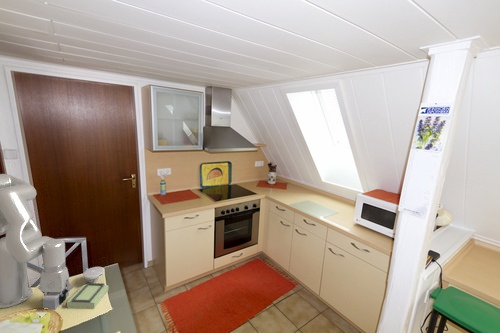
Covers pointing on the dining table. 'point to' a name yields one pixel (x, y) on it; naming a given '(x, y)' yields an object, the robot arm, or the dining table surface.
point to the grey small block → (52, 300)
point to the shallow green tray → (88, 296)
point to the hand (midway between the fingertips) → (56, 301)
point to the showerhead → (93, 274)
